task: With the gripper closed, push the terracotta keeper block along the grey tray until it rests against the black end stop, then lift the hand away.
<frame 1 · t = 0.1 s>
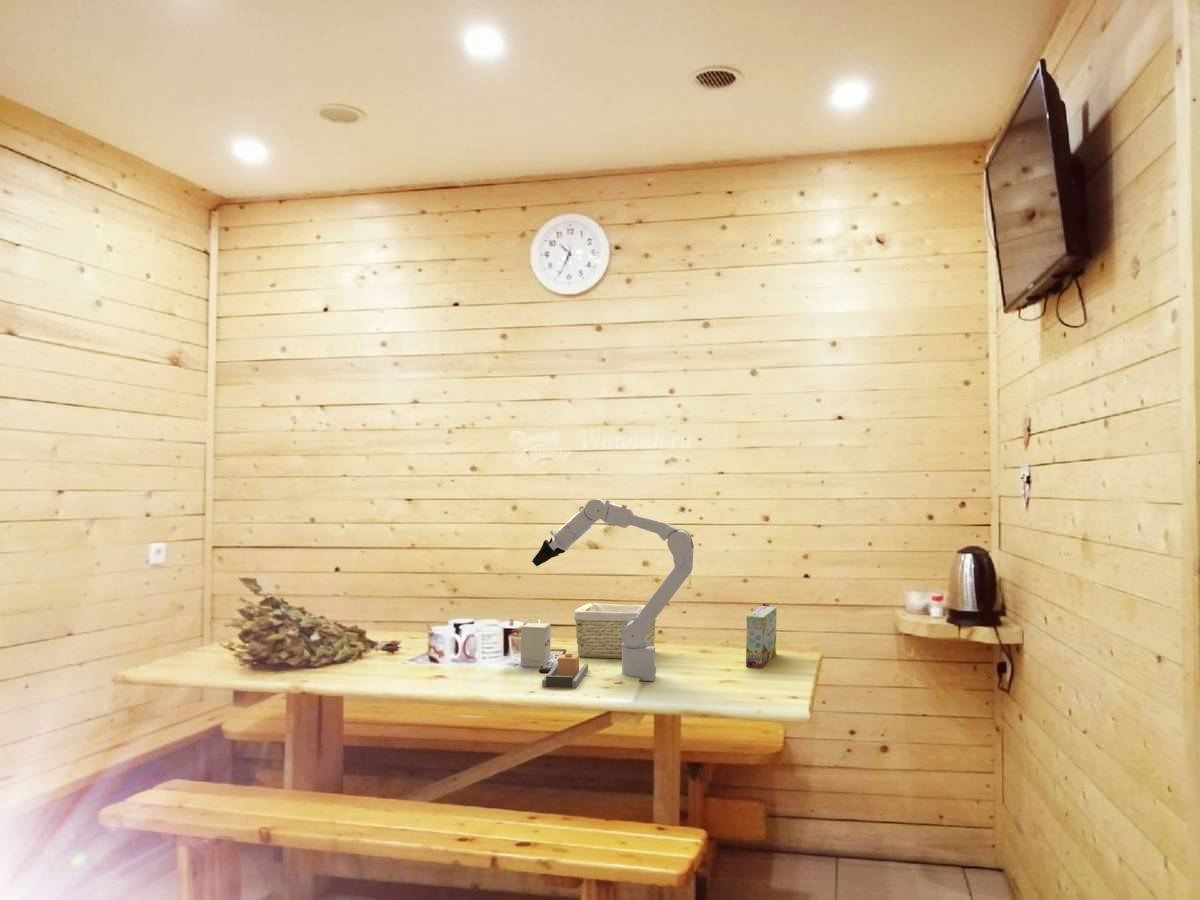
hand: (537, 562, 243), 32 cm above the table, tool tilted 50°, fingers open, 7 cm apart
keeper: (568, 664, 237), point 4 cm above the table, slide at 0.0 cm
grey tray: (566, 682, 233), on the table
storage basket: (616, 654, 269), on the table
supplement box: (535, 668, 251), on the table
snack box: (761, 661, 259), on the table
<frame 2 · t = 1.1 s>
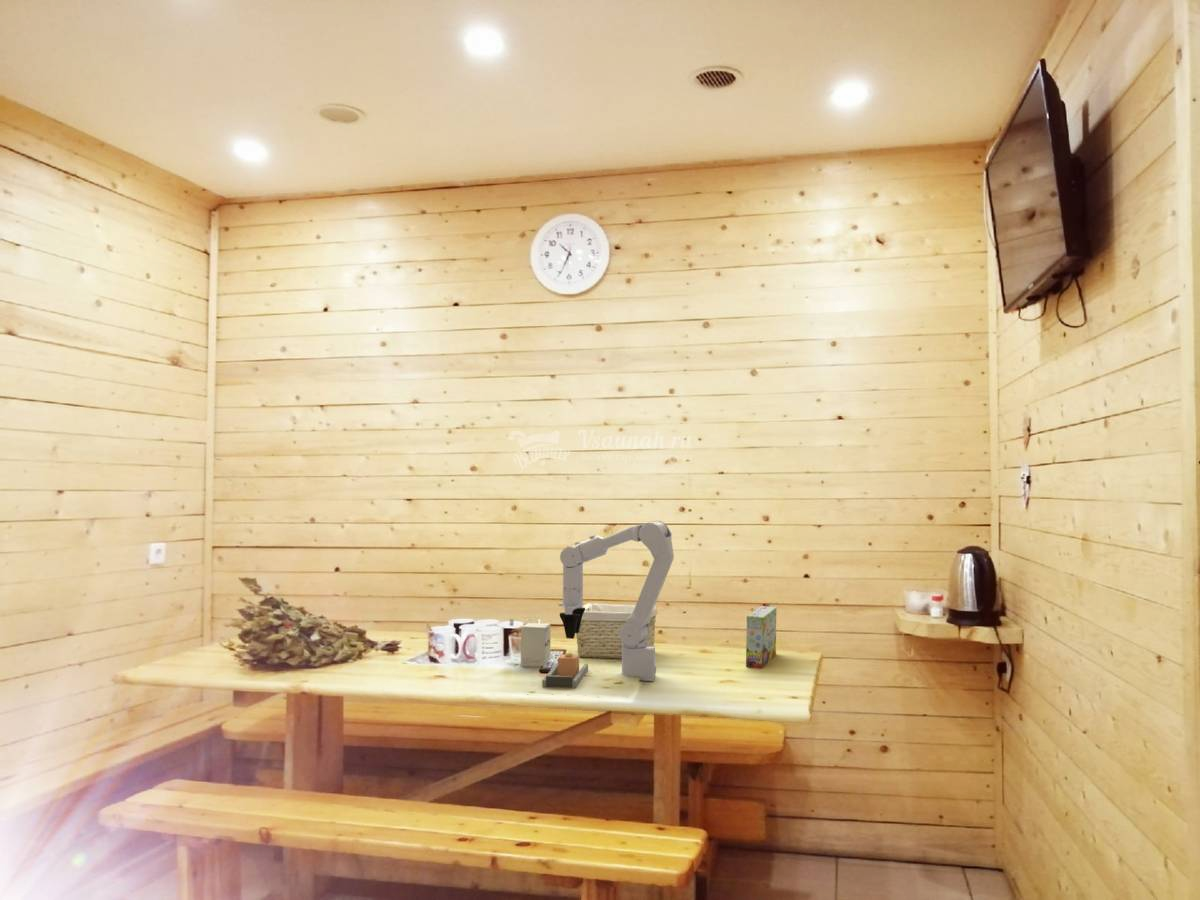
hand: (572, 635, 245), 11 cm above the table, tool pointing down, fingers open, 7 cm apart
nothing on the table moved.
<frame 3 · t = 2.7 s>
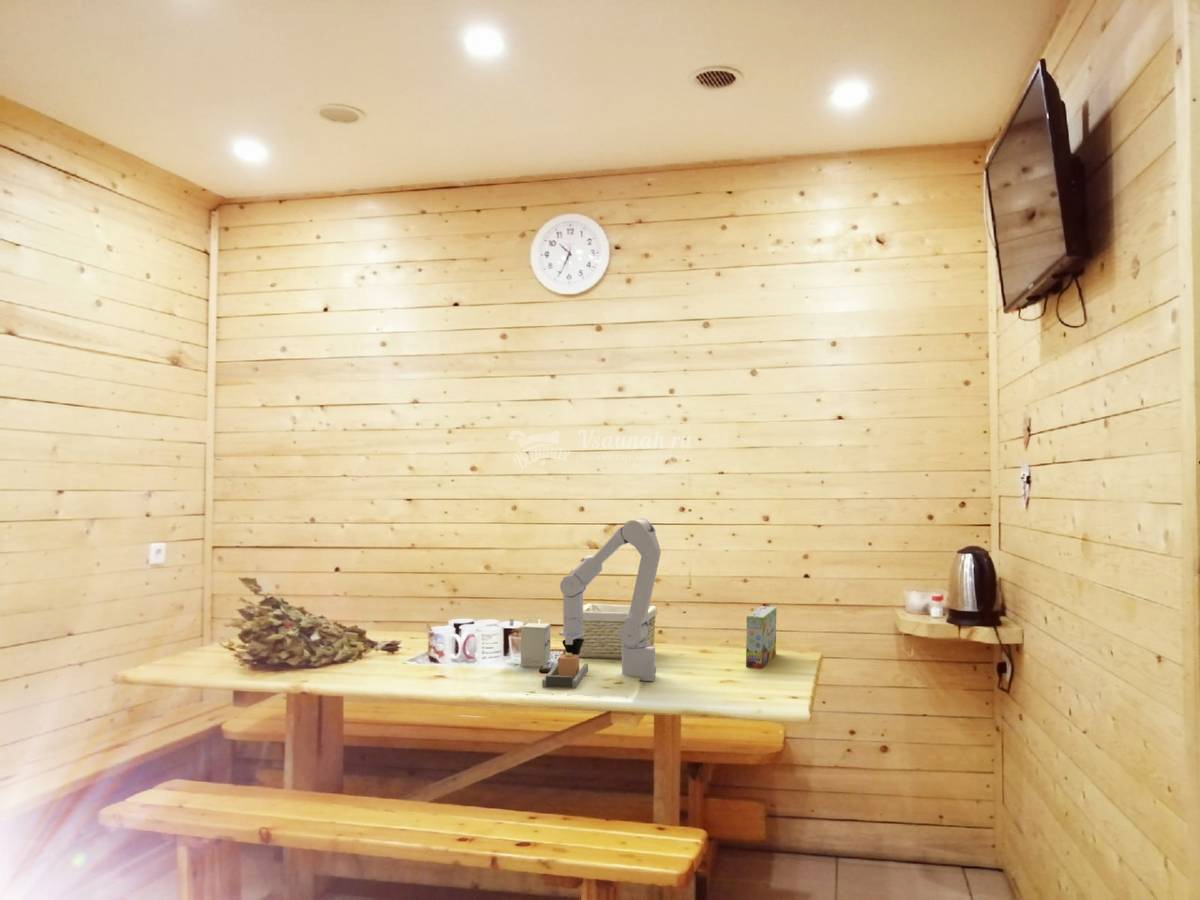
hand: (573, 665, 245), 2 cm above the table, tool pointing down, fingers closed
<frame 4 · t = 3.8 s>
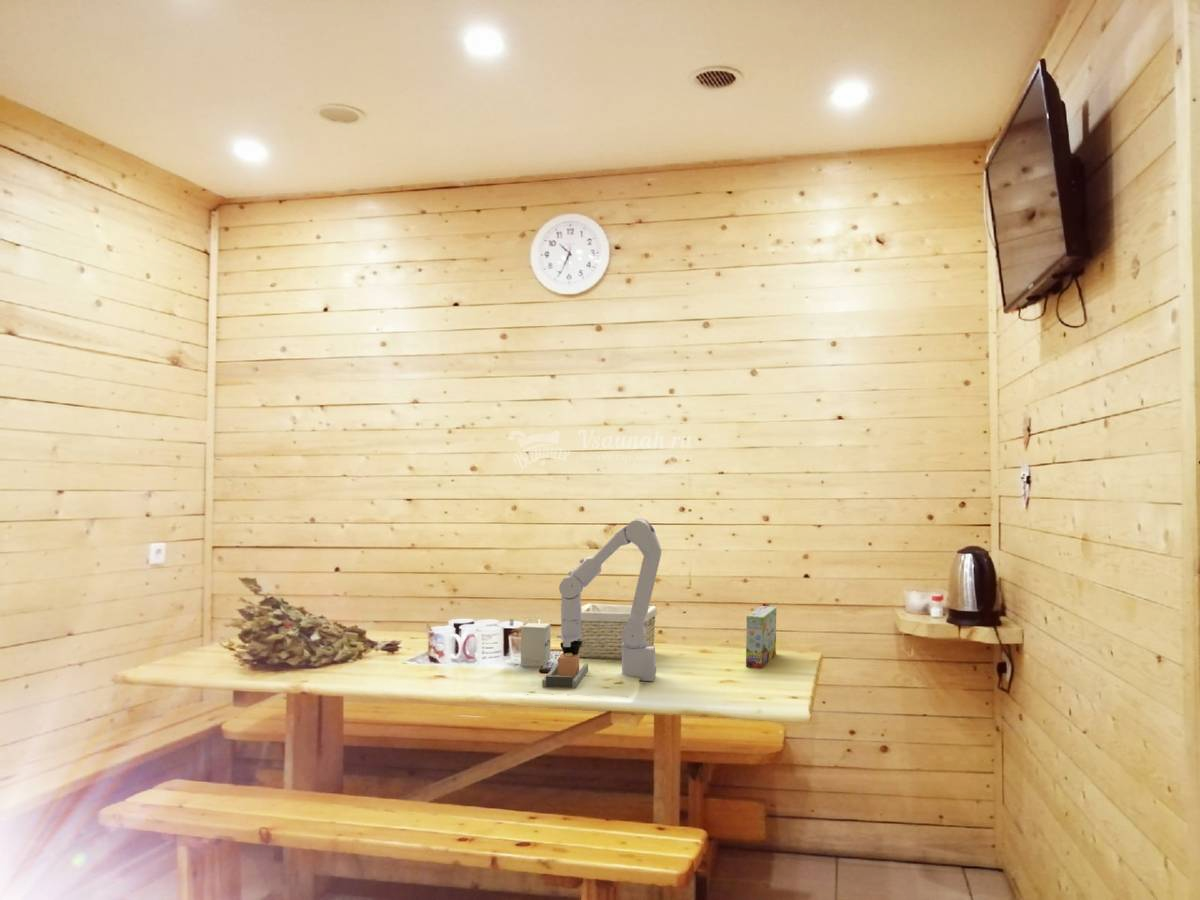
hand: (571, 667, 242), 2 cm above the table, tool pointing down, fingers closed
keeper: (568, 664, 237), point 4 cm above the table, slide at 0.0 cm, touching gripper
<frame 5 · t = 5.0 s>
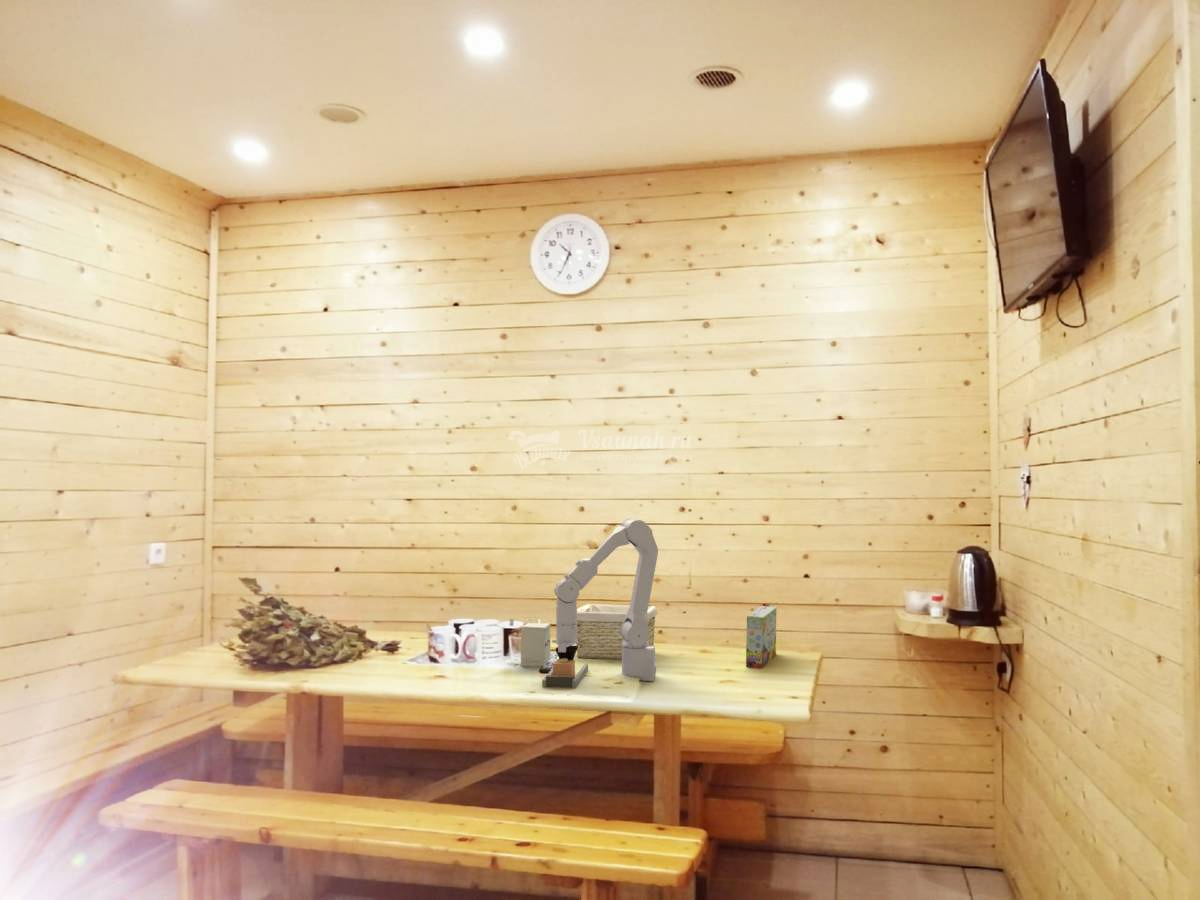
hand: (566, 673, 235), 2 cm above the table, tool pointing down, fingers closed
keeper: (564, 669, 230), point 4 cm above the table, slide at 7.0 cm, touching gripper
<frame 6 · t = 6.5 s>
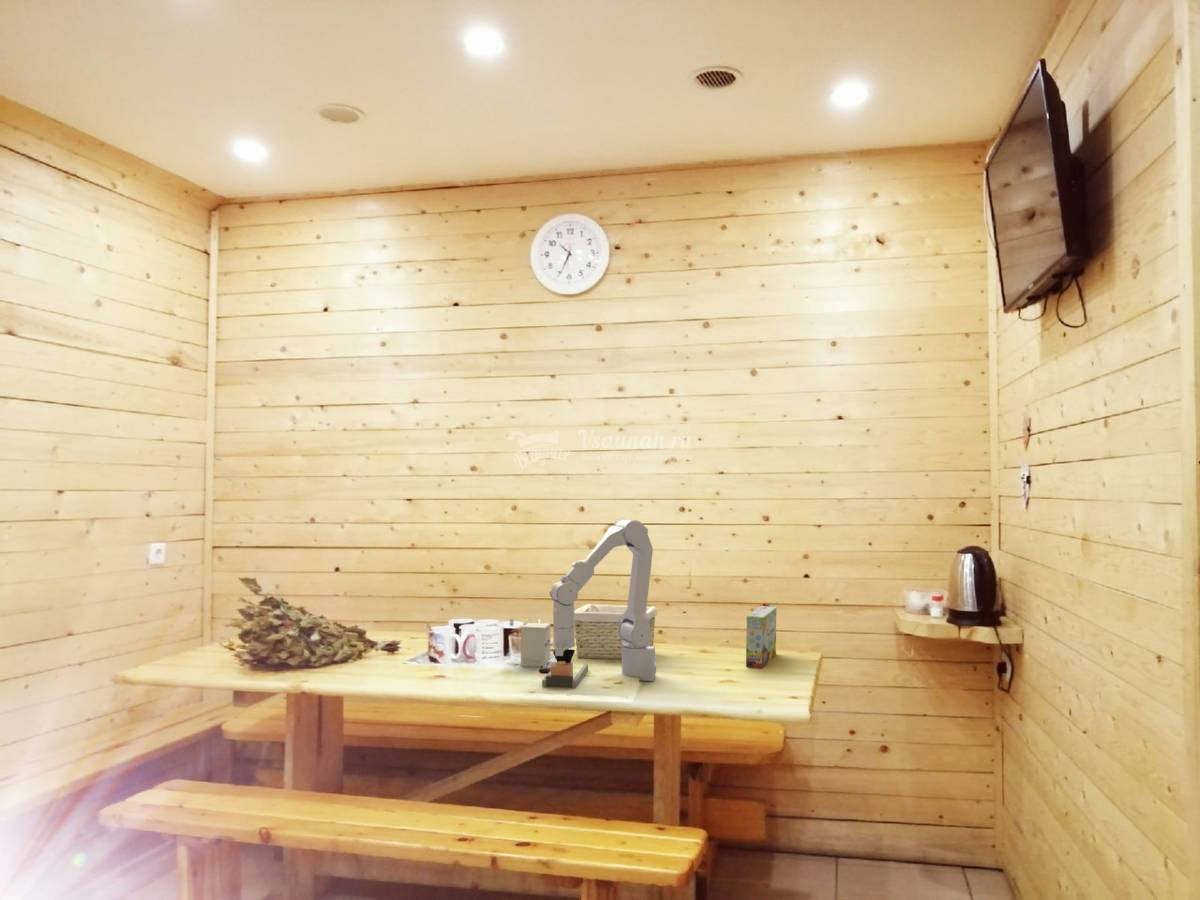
hand: (564, 677, 231), 2 cm above the table, tool pointing down, fingers closed, pressing on keeper
keeper: (561, 672, 227), point 4 cm above the table, slide at 10.0 cm, touching gripper, grey tray
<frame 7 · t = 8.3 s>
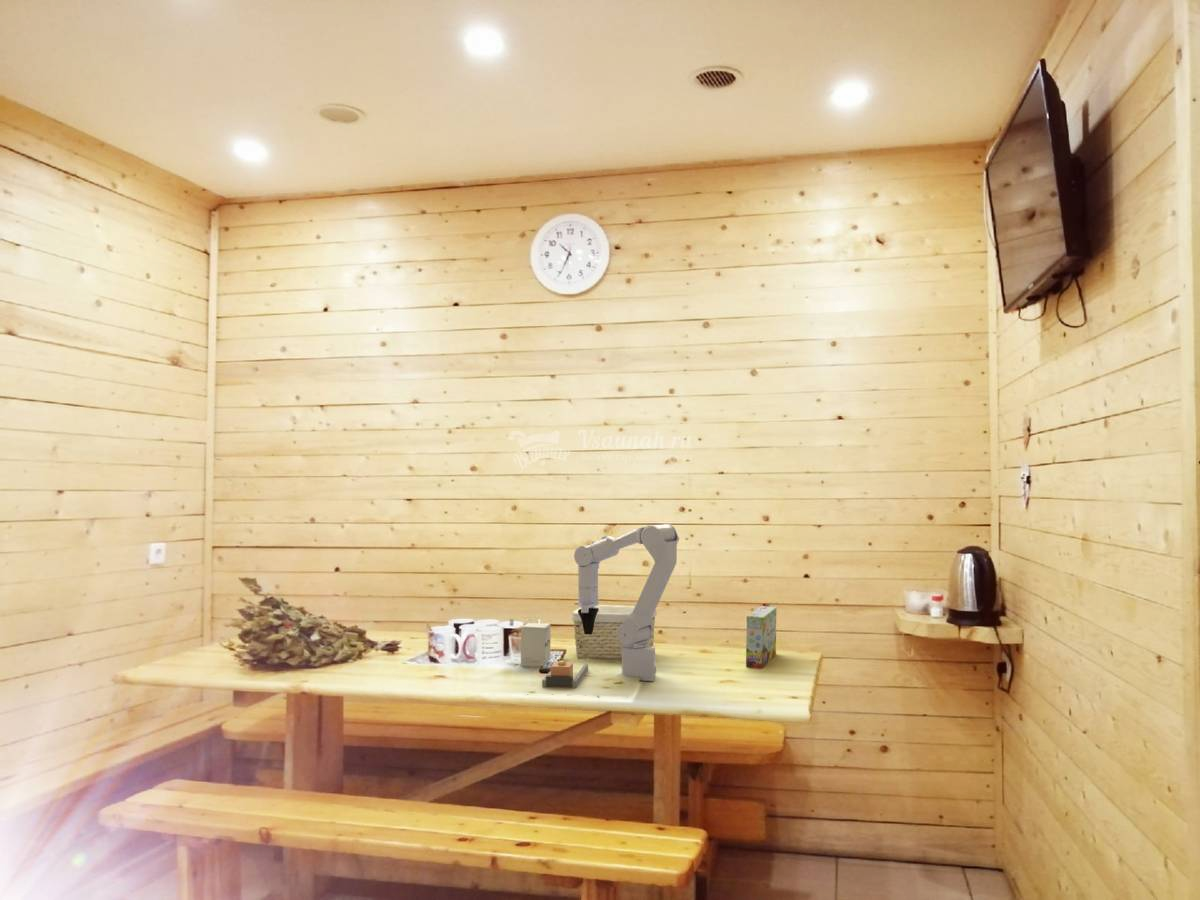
hand: (588, 633, 248), 10 cm above the table, tool pointing down, fingers closed
keeper: (561, 672, 227), point 4 cm above the table, slide at 10.0 cm, touching grey tray
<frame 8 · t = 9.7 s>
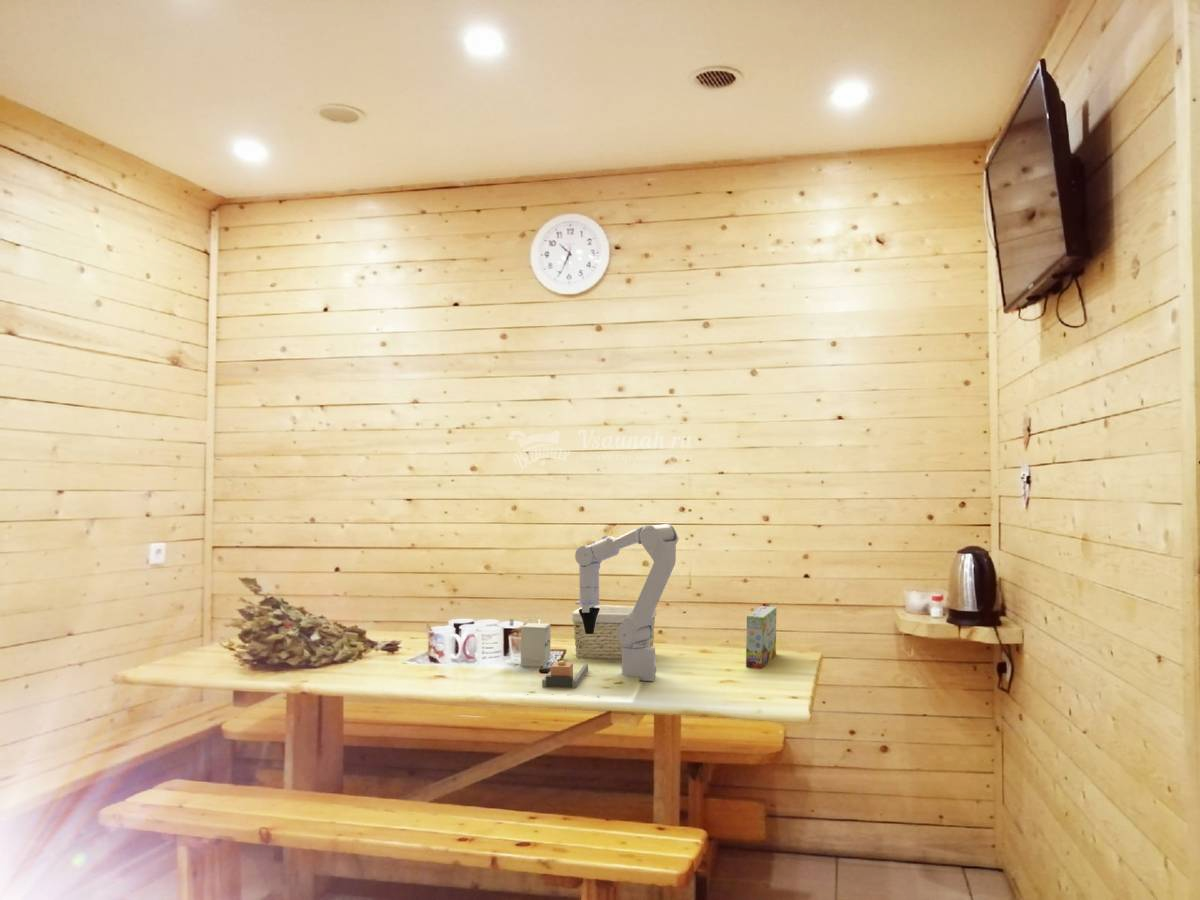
hand: (589, 633, 249), 10 cm above the table, tool pointing down, fingers closed
at the end: keeper slide at 10.0 cm; the gripper is holding nothing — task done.
